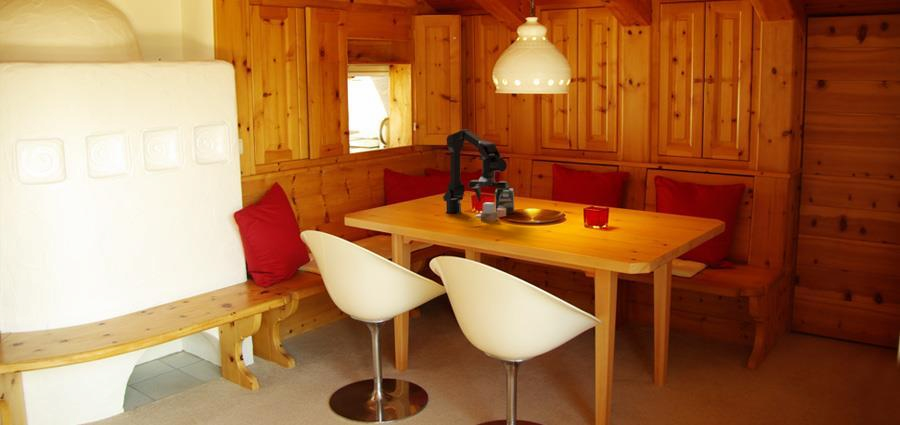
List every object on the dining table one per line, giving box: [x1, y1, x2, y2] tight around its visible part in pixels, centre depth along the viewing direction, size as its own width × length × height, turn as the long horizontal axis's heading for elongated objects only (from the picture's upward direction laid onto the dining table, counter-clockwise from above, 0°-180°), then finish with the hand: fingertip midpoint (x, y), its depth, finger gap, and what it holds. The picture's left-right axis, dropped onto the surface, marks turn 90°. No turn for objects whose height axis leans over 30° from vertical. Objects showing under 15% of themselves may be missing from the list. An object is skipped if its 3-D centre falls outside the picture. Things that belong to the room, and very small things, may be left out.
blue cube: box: [482, 201, 496, 214], centre depth 420 cm, size 4×4×4 cm
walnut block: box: [480, 211, 498, 223], centre depth 421 cm, size 6×6×4 cm
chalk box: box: [494, 186, 515, 213], centre depth 439 cm, size 9×9×15 cm
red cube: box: [497, 208, 507, 218], centre depth 429 cm, size 4×4×4 cm
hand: (488, 202), depth 420 cm, fingers open, 9 cm apart
